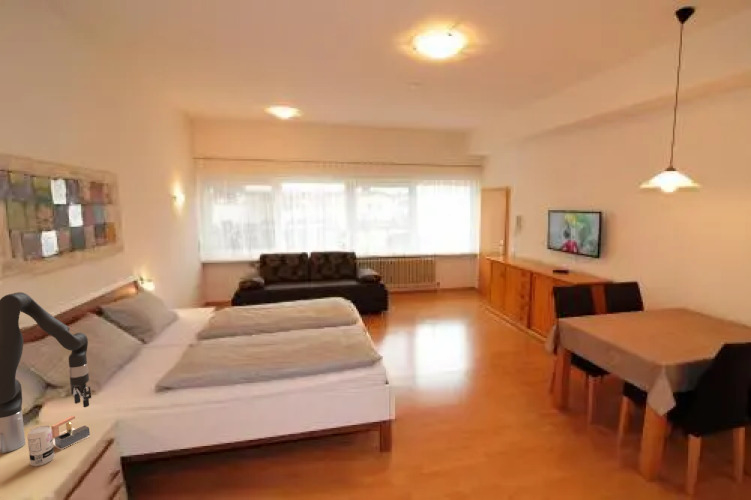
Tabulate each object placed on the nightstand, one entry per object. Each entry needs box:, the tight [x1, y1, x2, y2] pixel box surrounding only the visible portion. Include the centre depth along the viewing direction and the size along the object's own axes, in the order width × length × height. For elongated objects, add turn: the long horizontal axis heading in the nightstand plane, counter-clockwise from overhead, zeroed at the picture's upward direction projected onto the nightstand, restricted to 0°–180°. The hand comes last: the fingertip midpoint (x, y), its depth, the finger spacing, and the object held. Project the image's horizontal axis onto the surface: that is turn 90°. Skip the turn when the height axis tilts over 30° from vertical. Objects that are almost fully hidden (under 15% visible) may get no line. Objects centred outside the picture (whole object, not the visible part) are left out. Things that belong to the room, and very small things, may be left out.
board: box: [53, 427, 91, 451], centre depth 190 cm, size 12×18×1 cm
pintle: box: [65, 421, 73, 432], centre depth 191 cm, size 2×2×8 cm
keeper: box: [50, 415, 76, 438], centre depth 195 cm, size 10×2×6 cm, turn 164°
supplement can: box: [27, 425, 55, 467], centre depth 172 cm, size 8×8×15 cm
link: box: [55, 425, 91, 450], centre depth 188 cm, size 12×6×4 cm, turn 151°
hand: (82, 404), depth 191 cm, fingers open, 8 cm apart
